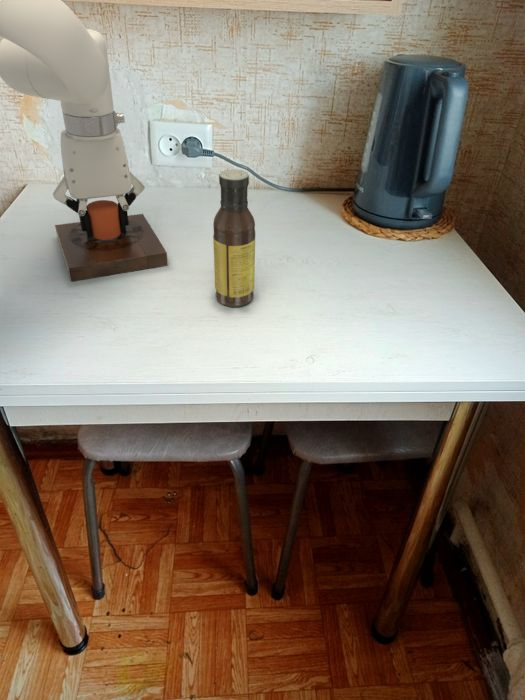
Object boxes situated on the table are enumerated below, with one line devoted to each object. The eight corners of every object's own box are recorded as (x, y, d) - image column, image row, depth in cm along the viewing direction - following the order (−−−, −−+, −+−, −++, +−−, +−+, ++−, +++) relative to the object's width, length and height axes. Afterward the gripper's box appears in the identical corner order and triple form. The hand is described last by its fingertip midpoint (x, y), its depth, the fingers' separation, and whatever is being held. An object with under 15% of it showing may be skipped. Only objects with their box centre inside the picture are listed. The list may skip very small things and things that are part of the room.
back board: (71, 281, 82) (68, 268, 80) (57, 236, 93) (54, 223, 92) (167, 265, 88) (166, 252, 86) (143, 224, 99) (142, 212, 97)
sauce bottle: (259, 292, 83) (266, 170, 70) (245, 312, 78) (251, 186, 66) (222, 283, 84) (223, 162, 72) (207, 302, 80) (205, 177, 67)
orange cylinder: (93, 241, 87) (89, 214, 84) (88, 228, 91) (83, 201, 88) (124, 237, 89) (121, 210, 86) (117, 224, 93) (114, 198, 90)
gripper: (139, 113, 84) (148, 216, 95) (28, 119, 78) (52, 229, 89) (151, 126, 79) (159, 234, 90) (33, 134, 73) (58, 248, 84)
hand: (105, 230), depth 90 cm, fingers closed on orange cylinder, 5 cm apart
